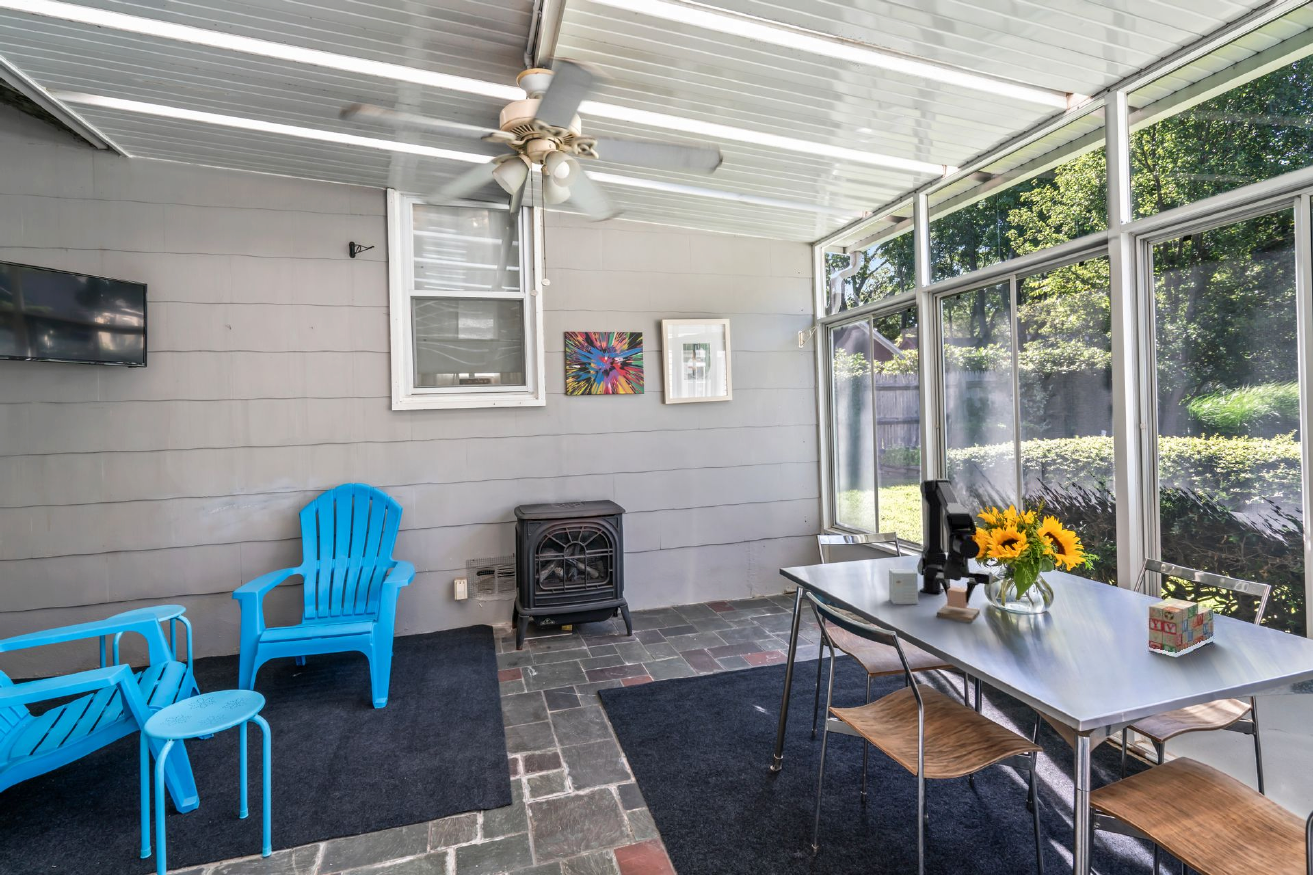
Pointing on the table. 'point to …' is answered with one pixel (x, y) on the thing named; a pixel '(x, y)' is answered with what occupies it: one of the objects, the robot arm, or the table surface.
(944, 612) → the walnut base
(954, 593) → the terracotta cube
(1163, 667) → the table surface
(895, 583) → the small box
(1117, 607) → the table surface
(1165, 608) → the stack of blocks
